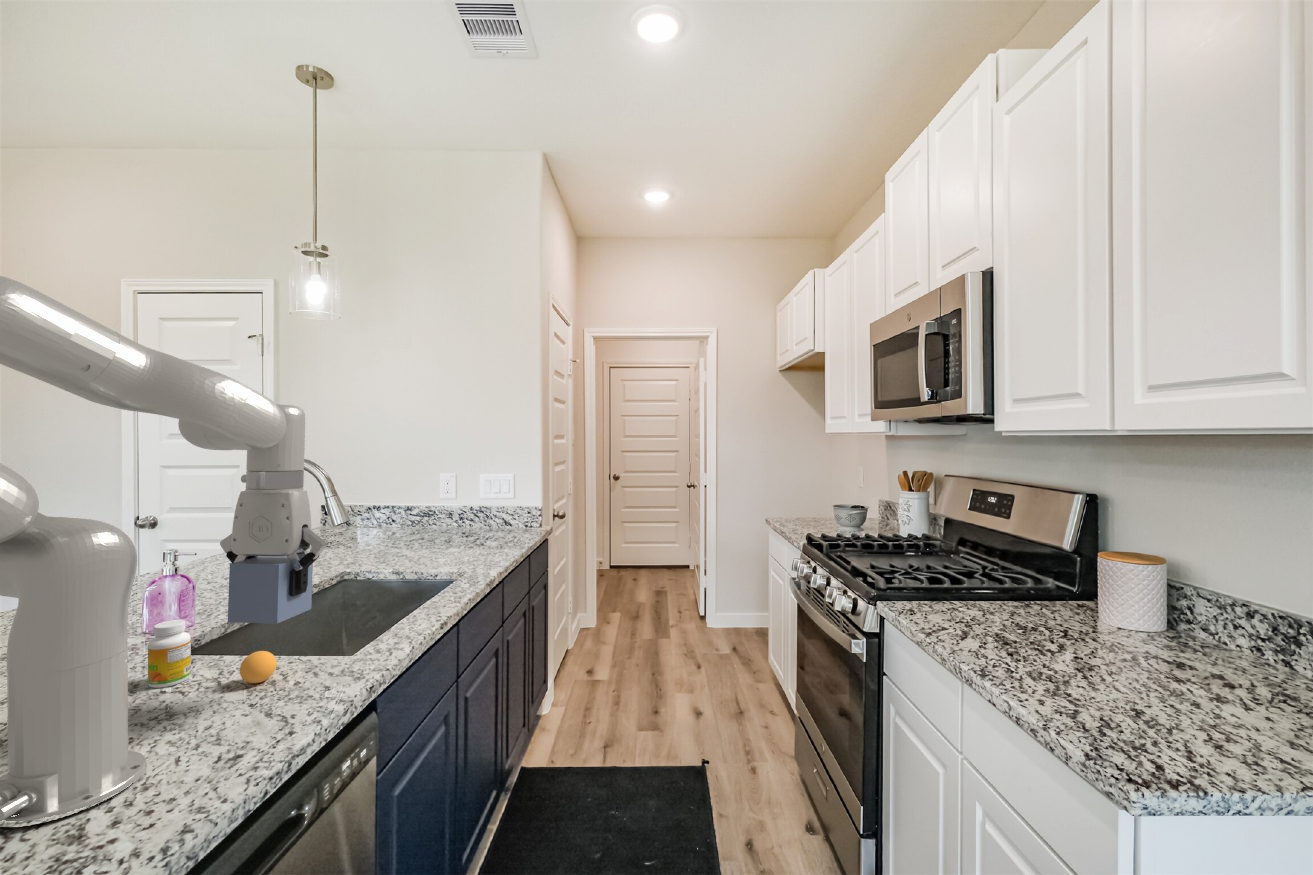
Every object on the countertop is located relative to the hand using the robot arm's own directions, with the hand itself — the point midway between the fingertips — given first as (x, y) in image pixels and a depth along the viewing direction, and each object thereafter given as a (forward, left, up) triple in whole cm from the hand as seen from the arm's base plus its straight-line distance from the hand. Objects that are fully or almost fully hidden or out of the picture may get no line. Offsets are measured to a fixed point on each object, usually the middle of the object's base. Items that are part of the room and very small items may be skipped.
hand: (272, 592), depth 86 cm
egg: (+5, +6, -14) cm, 16 cm away
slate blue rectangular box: (0, 0, -4) cm, 4 cm away
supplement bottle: (+5, +21, -17) cm, 27 cm away
